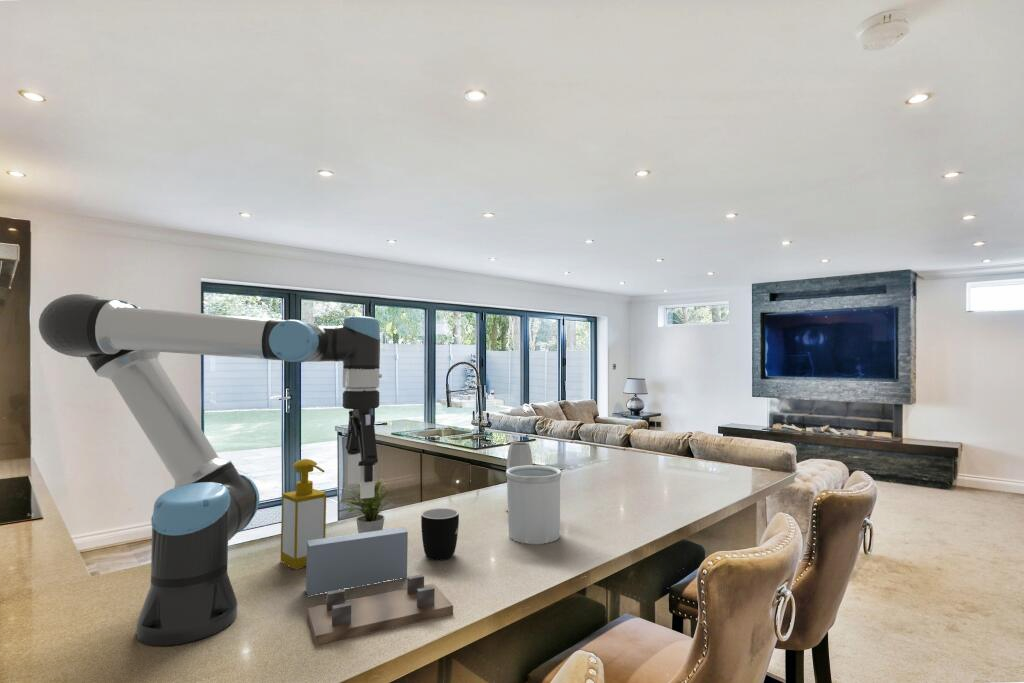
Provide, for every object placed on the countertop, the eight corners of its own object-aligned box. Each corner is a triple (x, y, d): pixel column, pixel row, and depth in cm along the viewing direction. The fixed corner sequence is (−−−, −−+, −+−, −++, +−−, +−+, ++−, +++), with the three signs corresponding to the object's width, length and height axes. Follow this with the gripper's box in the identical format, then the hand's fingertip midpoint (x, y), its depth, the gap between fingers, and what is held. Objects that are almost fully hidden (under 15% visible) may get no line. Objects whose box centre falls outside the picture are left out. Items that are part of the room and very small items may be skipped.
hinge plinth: (315, 645, 86) (315, 617, 86) (307, 616, 96) (308, 591, 96) (453, 613, 97) (453, 588, 97) (433, 590, 107) (433, 568, 107)
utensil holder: (532, 550, 131) (532, 478, 132) (494, 535, 142) (494, 469, 143) (572, 537, 141) (572, 471, 141) (534, 524, 152) (534, 463, 152)
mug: (461, 560, 123) (461, 517, 124) (422, 564, 121) (423, 519, 121) (453, 543, 135) (453, 503, 135) (417, 547, 133) (418, 506, 133)
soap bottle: (306, 576, 114) (308, 466, 115) (280, 561, 123) (282, 459, 124) (336, 567, 119) (338, 462, 120) (310, 553, 128) (312, 455, 129)
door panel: (308, 597, 104) (309, 546, 105) (305, 590, 107) (307, 540, 108) (407, 578, 113) (407, 531, 114) (402, 572, 117) (403, 527, 117)
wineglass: (533, 515, 161) (533, 445, 162) (505, 514, 161) (505, 445, 162) (532, 507, 170) (533, 441, 171) (505, 507, 170) (506, 441, 171)
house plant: (352, 531, 144) (353, 471, 145) (402, 532, 144) (403, 472, 145) (332, 549, 130) (334, 483, 131) (388, 550, 130) (389, 483, 130)
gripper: (394, 391, 103) (393, 501, 102) (366, 386, 125) (365, 477, 124) (354, 392, 99) (353, 506, 98) (333, 387, 121) (332, 480, 121)
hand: (360, 490), depth 111 cm, fingers open, 13 cm apart
